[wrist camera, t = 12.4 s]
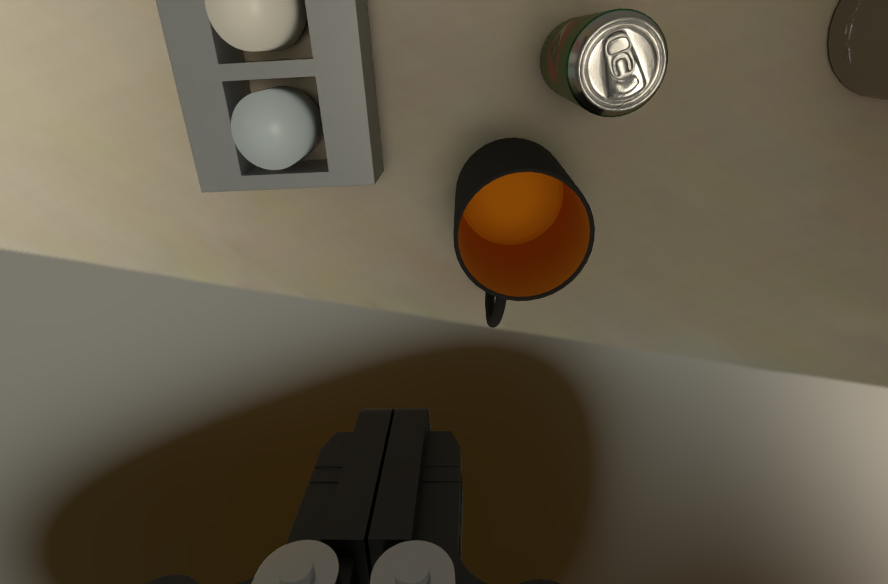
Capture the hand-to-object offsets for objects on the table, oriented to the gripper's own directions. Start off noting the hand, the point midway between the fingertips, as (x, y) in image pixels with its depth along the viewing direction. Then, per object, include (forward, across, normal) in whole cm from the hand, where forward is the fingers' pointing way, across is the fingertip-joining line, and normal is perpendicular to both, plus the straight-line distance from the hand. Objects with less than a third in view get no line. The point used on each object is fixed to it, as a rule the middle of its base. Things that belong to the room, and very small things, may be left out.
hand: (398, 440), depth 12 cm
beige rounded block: (+29, +11, -11) cm, 33 cm away
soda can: (+32, -9, -7) cm, 34 cm away
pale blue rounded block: (+29, +11, -4) cm, 31 cm away
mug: (+32, -4, +4) cm, 32 cm away
